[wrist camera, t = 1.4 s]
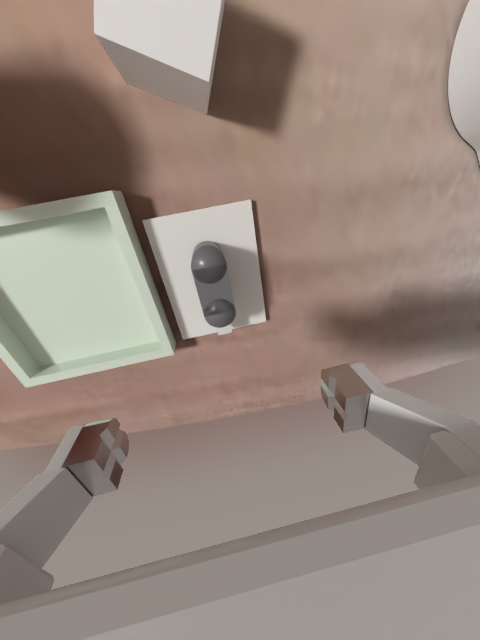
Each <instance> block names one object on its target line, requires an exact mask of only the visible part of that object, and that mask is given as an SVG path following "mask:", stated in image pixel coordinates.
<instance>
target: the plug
mask: <svg viewBox="0 0 480 640" xmlns="http://www.w3.org/2000/svg"><path fill="white" fill-rule="evenodd" d="M191 271H192V274H193V278H194V282H195V285H196V289H197V292H198V296H199V300H200V303H201V307H202V311H203V314H204V318H205V320H206V322H207V323H208V324H209V325H211V326H213V327H216V328H217V332H218V335H222V334H227V333H231V332H232V329H231V325H230V324H231V323H232V322H233V320H234V319H235V316H236V310H235V304H234V299H233V294H232V289H231V284H230V279H229V274H228V269H227V264H226V260H225V258H224V255H223V252H222V250H221V248H220V247H219V246H218V245H217V244H216V243H214V242H212V241H203V242H200V243H199V244H197V245H196V247H195V248H194V250H193V255H192V261H191Z"/></svg>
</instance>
